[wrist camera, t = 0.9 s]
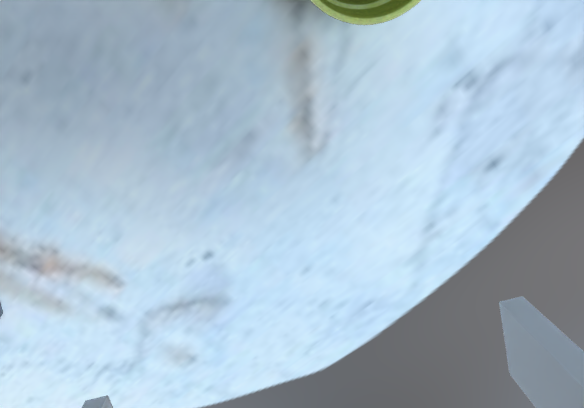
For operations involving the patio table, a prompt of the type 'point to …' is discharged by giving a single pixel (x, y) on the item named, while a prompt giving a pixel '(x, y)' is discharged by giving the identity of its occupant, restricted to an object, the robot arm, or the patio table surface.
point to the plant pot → (365, 10)
